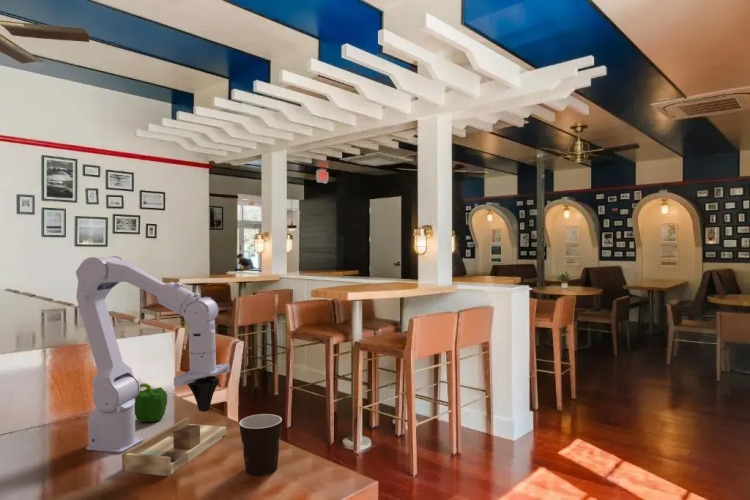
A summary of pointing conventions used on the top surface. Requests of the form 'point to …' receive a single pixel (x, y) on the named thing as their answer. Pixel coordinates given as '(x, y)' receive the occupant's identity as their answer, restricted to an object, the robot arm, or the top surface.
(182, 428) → the walnut block
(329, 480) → the top surface
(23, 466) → the top surface
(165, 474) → the birch tray
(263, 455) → the black cup
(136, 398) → the bell pepper
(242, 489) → the top surface
